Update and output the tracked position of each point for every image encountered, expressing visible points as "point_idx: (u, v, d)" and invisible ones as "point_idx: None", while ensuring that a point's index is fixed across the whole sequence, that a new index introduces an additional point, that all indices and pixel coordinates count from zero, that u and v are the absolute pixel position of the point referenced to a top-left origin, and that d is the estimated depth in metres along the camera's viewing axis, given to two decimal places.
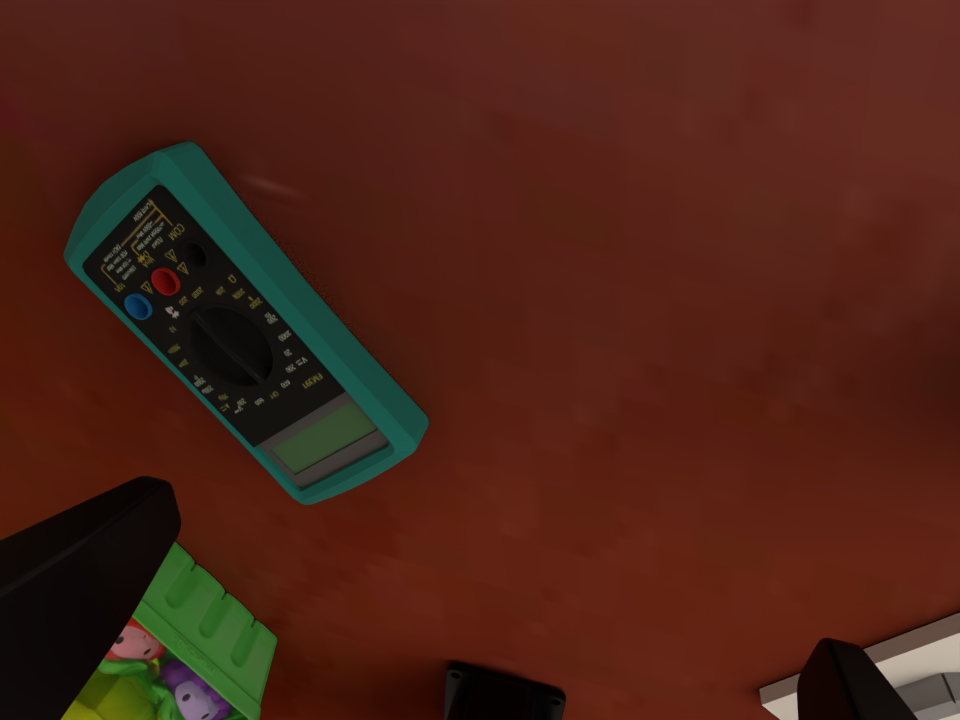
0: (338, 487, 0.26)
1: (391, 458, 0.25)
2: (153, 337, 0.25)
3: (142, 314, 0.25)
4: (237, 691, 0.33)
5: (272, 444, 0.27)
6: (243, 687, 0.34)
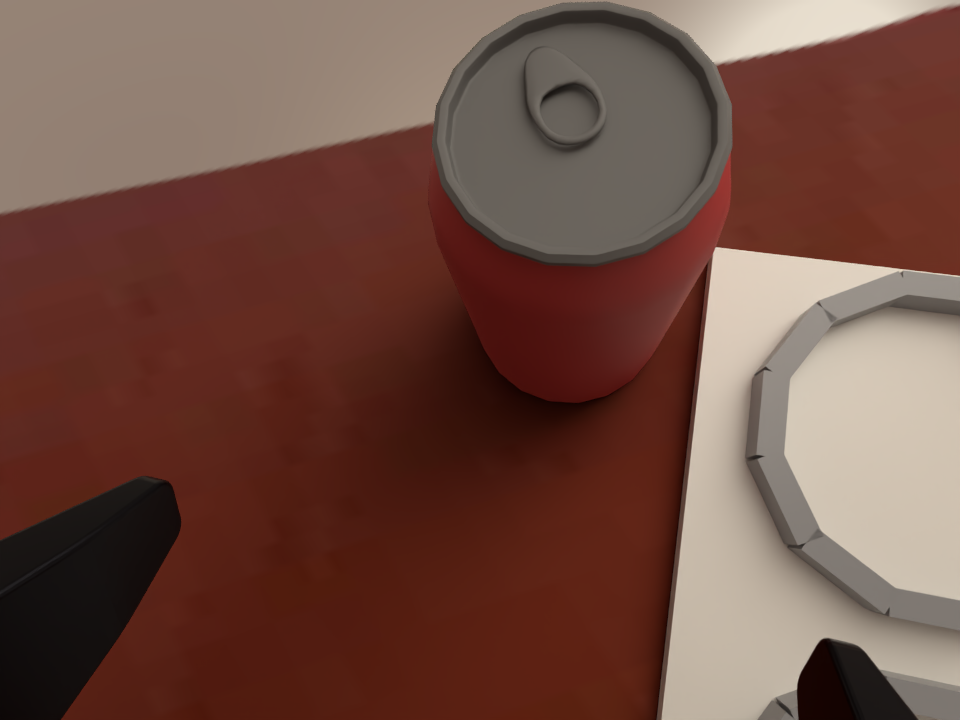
0: None
1: None
2: None
3: None
4: None
5: None
6: None
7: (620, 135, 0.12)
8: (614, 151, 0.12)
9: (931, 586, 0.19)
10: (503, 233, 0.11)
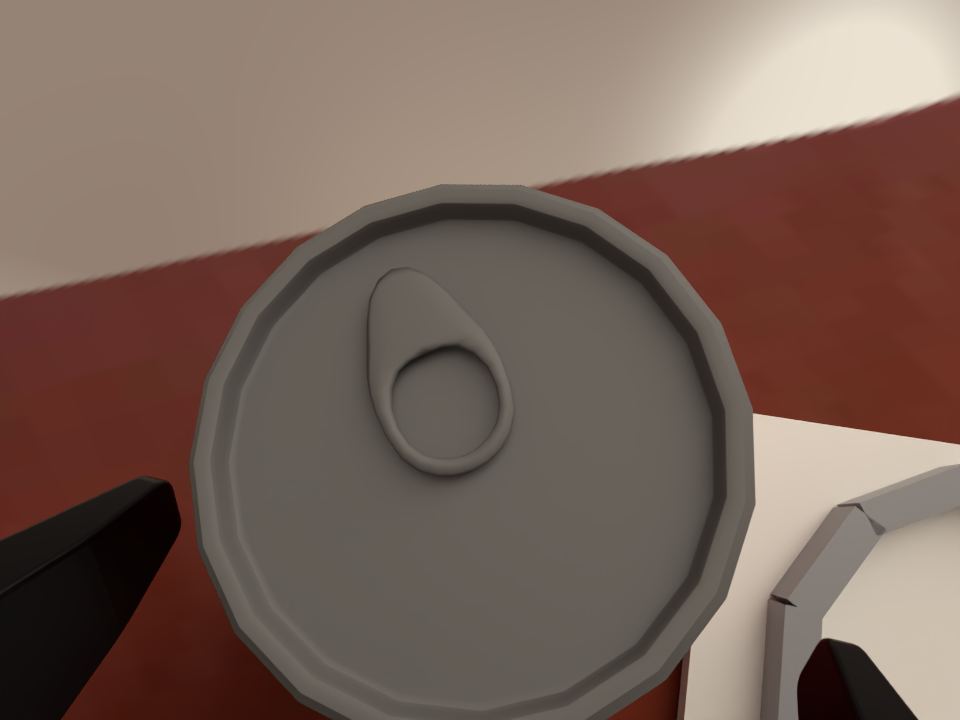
0: None
1: None
2: None
3: None
4: None
5: None
6: None
7: (541, 449, 0.06)
8: (529, 485, 0.06)
9: None
10: (301, 677, 0.06)
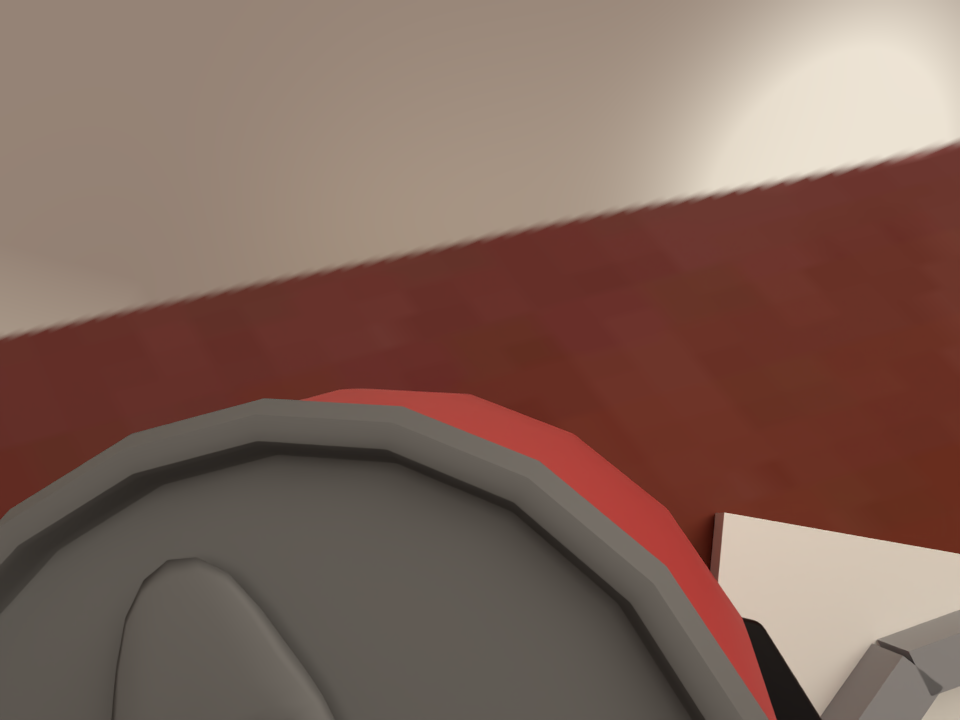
0: None
1: None
2: None
3: None
4: None
5: None
6: None
7: None
8: None
9: None
10: None
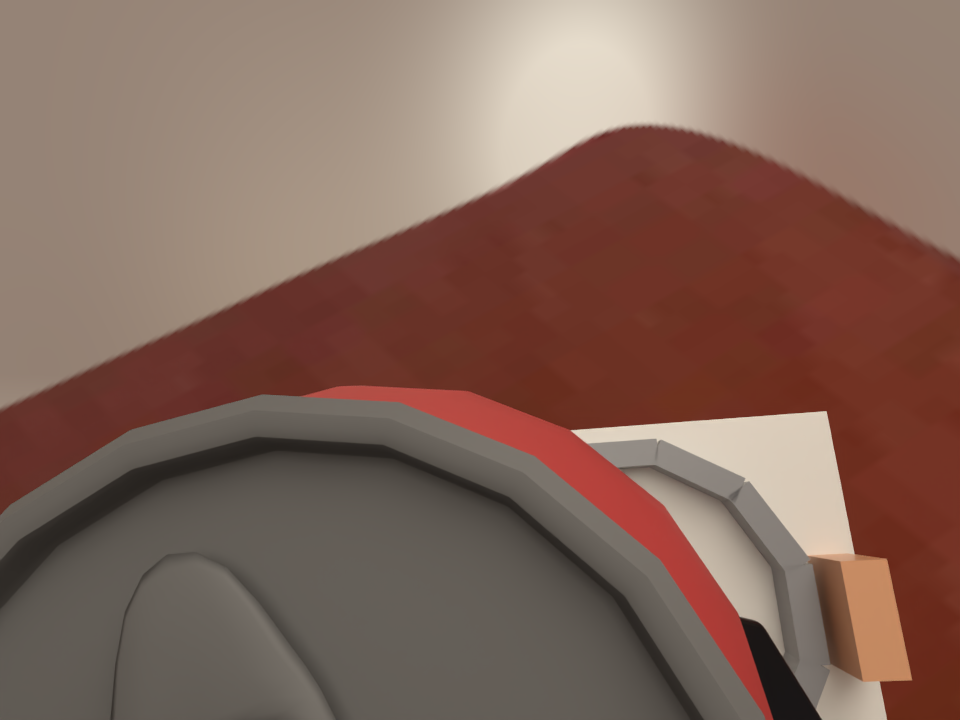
0: None
1: None
2: None
3: None
4: None
5: None
6: None
7: None
8: None
9: None
10: None
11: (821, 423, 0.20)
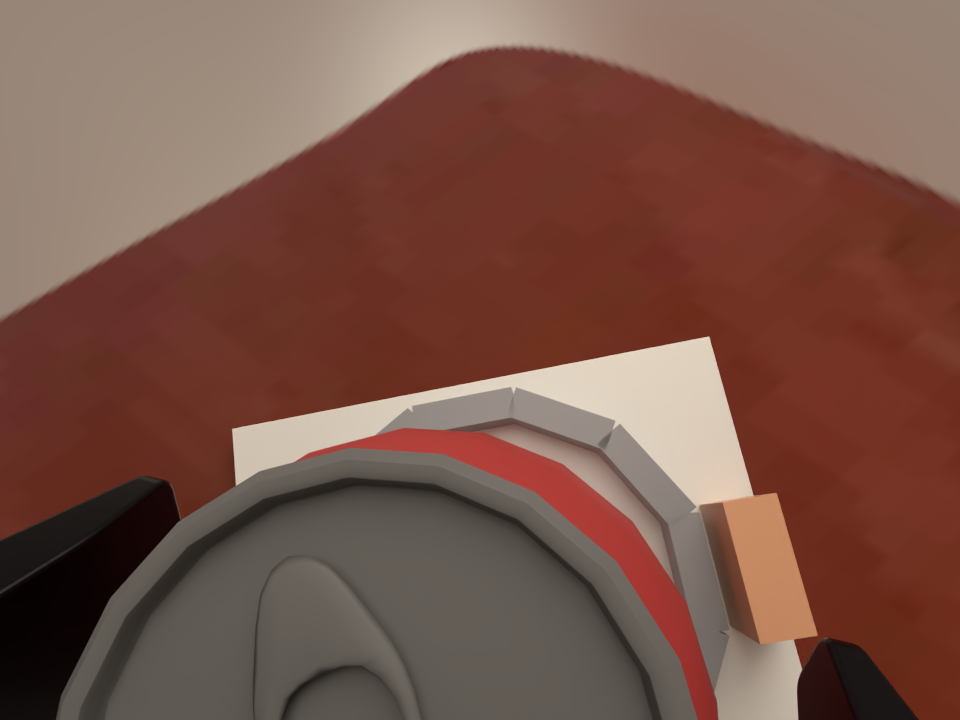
0: None
1: None
2: None
3: None
4: None
5: None
6: None
7: None
8: None
9: None
10: None
11: (704, 351, 0.17)
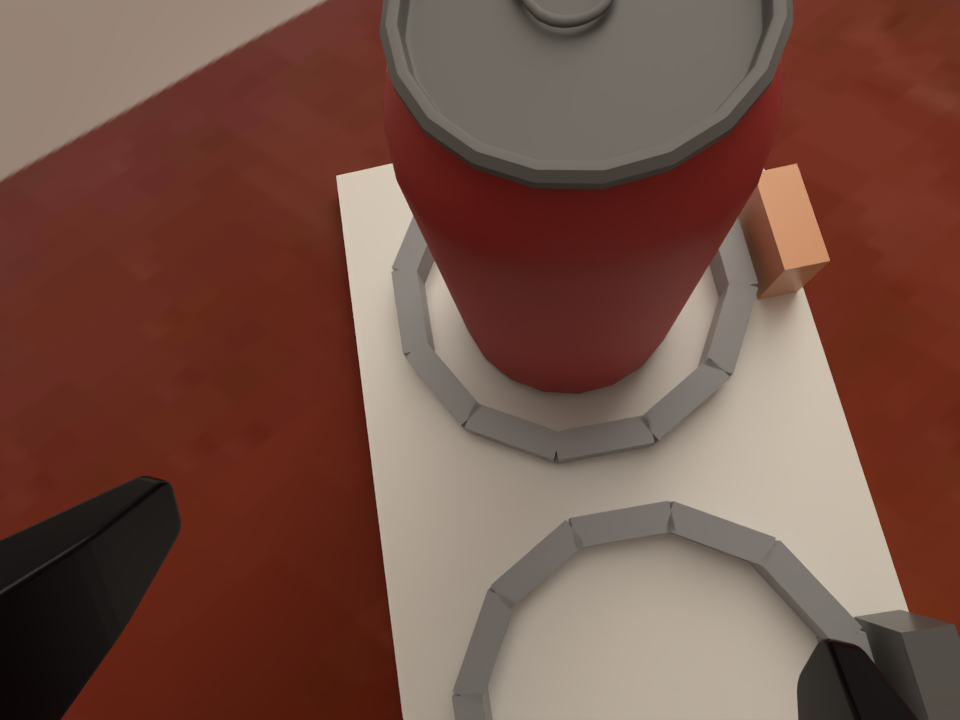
0: None
1: None
2: None
3: None
4: None
5: None
6: None
7: (636, 14, 0.09)
8: (629, 36, 0.09)
9: (607, 419, 0.19)
10: (476, 141, 0.08)
11: None
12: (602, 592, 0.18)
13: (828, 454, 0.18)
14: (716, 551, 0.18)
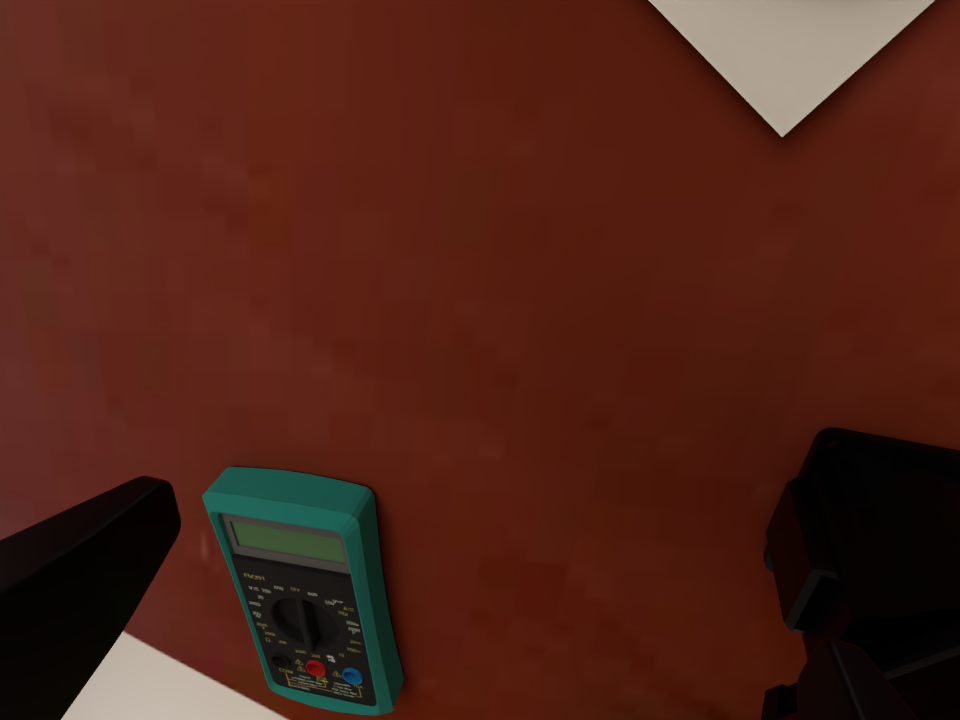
0: (286, 518, 0.26)
1: (219, 508, 0.27)
2: (363, 662, 0.30)
3: (360, 670, 0.31)
4: None
5: (339, 565, 0.27)
6: None
7: None
8: None
9: None
10: None
11: None
12: None
13: None
14: None
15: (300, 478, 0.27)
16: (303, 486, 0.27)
